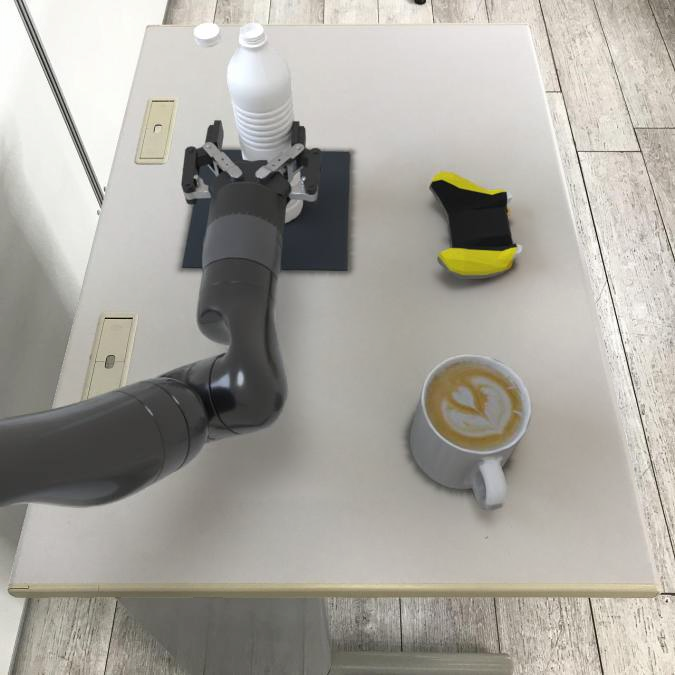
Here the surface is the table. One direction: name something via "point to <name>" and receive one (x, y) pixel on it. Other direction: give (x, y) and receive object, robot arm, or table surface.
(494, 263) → the gaming controller
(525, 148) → the table surface
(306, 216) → the mat
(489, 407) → the coffee mug
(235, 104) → the water bottle
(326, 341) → the table surface
